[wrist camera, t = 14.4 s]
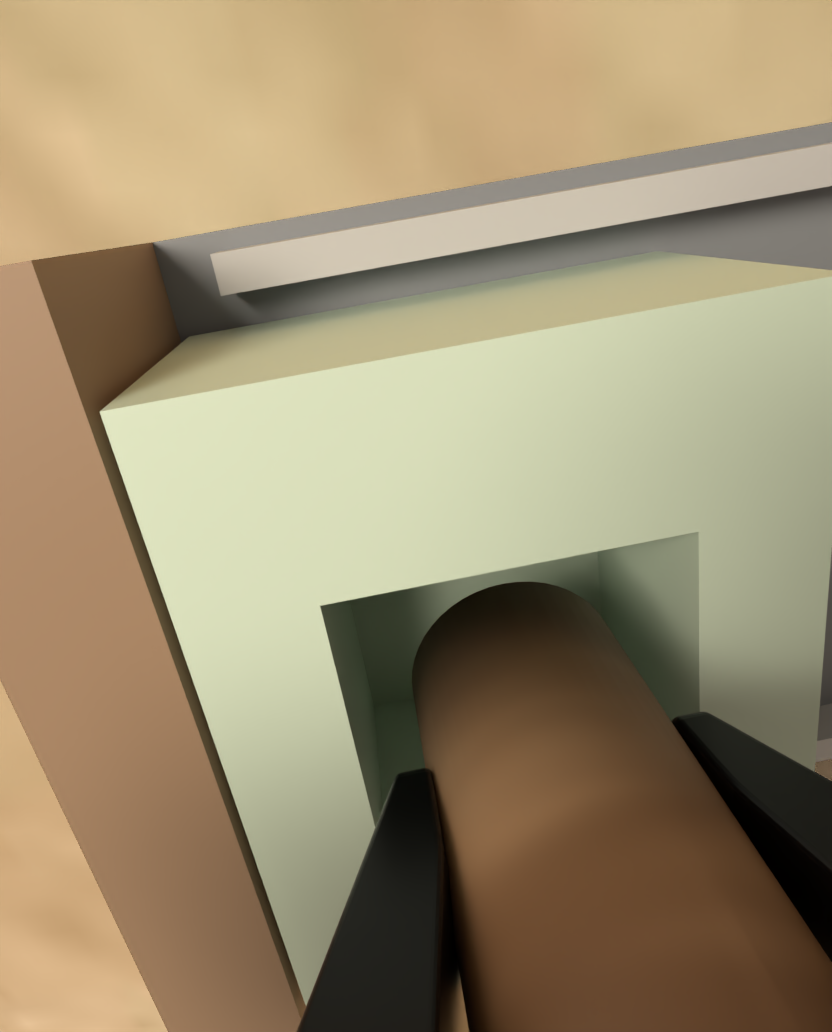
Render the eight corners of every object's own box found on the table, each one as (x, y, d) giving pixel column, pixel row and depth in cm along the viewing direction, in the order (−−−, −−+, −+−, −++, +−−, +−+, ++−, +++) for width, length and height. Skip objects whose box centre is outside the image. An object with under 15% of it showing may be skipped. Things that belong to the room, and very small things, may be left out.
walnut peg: (609, 563, 10) (1386, 1547, 3) (619, 733, 11) (1168, 1735, 4) (395, 604, 10) (577, 1749, 2) (428, 772, 11) (617, 1881, 4)
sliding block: (657, 251, 12) (852, 272, 8) (670, 719, 16) (803, 918, 12) (189, 336, 12) (99, 411, 7) (318, 791, 16) (312, 1024, 11)
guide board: (1159, 64, 13) (1769, -48, 7) (1031, 660, 18) (1336, 855, 13) (49, 260, 12) (-182, 298, 7) (243, 822, 17) (202, 1103, 12)
